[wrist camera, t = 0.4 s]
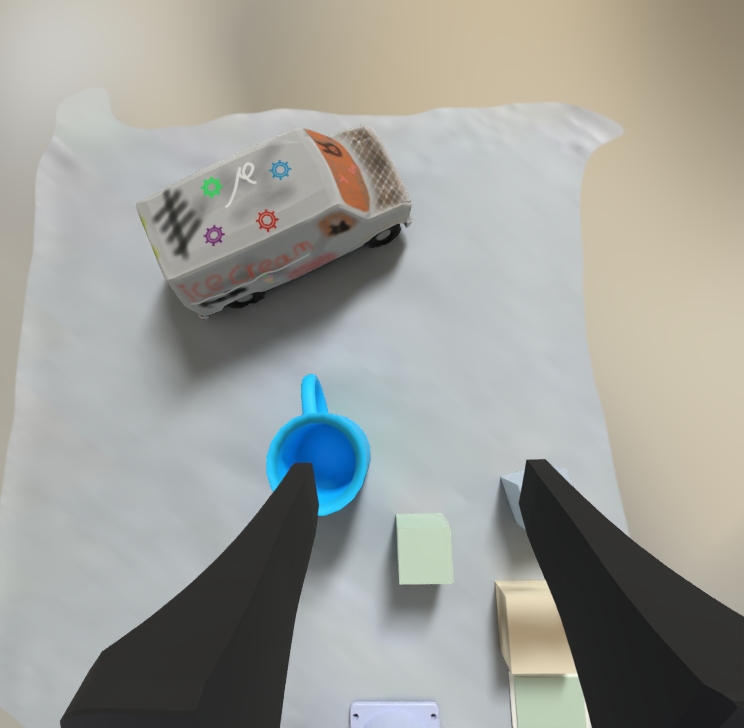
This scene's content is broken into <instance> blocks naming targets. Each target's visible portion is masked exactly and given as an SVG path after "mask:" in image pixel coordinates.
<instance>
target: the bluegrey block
mask: <svg viewBox="0 0 744 728" xmlns="http://www.w3.org/2000/svg"><path fill="white" fill-rule="evenodd" d="M553 467H554V466H553ZM554 468H555V469H556V470H557V471H558V472H559V473H560V474H561V475H562V476H563V477H564V478H565V479H566V480H567V481H568V482H569V483H570V484H571V485H572V486H573V484H572V481H571V478H570V476H569V473H568V470H566V469H562V468H558V467H554ZM524 471H525V470H522V471H518V472H515V473H512V474H508V475H505V476H502V477H501V480H502V483H503V486H504V489H505V492H506V495H507V498H508V501H509V503H510V506H511V509H512V512H513V515H514V518H515V521H516V523H517V524H518V525H520V526H521V527H522V528H524V529H525V526H524V522H523V519H522V515H521V511H520V507H519V498H520V493H521V487H522V482H523V476H524ZM573 487H574V486H573ZM525 530H526V529H525Z"/></svg>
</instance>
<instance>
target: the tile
mask: <svg viewBox="0 0 744 728" xmlns="http://www.w3.org/2000/svg"><path fill="white" fill-rule="evenodd" d="M508 673H509V687H510V700H511V714H512V727H513V728H590V720H589V714H588V710H587V707H586V703H585V699H584V695H583V692H582V688H581V685H580V681H579V678H578V675H577V673H570V674H512V673H511V671H510V670H508Z"/></svg>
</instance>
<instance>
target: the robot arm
mask: <svg viewBox="0 0 744 728" xmlns="http://www.w3.org/2000/svg"><path fill="white" fill-rule="evenodd" d="M519 507H520V511H521V515H522V519H523V522H524V526H525V529H526V533H527V536H528V538H529V541H530V543H531V546H532V548H533V551H534V553H535V556H536V558H537V561H538V563H539V566H540V568H541V570H542V573H543V575H544V578H545V580H546V583H547V585H548V587H549V590H550V592H551V595H552V597H553V600H554V602H555V605H556V607H557V610H558V613H559V616H560V618H561V621H562V625H563V628H564V631H565V634H566V638H567V641H568V644H569V647H570V651H571V654H572V657H573V661H574V664H575V668H576V671H577V675H578V678H579V681H580V685H581V688H582V692H583V695H584V699H585V703H586V707H587V710H588V714H589V718H590V722H591V725H592V728H744V617H743V616H742V615H740V614H738V613H737V612H735V611H733V610H732V609H730V608H728V607H727V606H725V605H724V604H722V603H721V602H719V601H717V600H716V599H714V598H712V597H711V596H709V595H708V594H706V593H705V592H703V591H702V590H700V589H699V588H697V587H696V586H695V585H693V584H692V583H690V582H689V581H687V580H685V579H684V578H683V577H681V576H680V575H678V574H677V573H675V572H674V571H673V570H671V569H670V568H668V567H667V566H666V565H664V564H663V563H662V562H660V561H659V560H658V559H656V558H655V557H654V556H652V555H651V554H650V553H648V552H647V551H646V550H644V549H643V548H641V547H640V546H639V545H638V544H637V543H635V542H634V541H633V540H632V539H631V538H629V537H628V536H627V535H626V534H625V533H623V532H622V531H621V530H620V529H619V528H617V527H616V526H615V525H614V524H613V523H612V522H610V521H609V520H608V519H607V518H606V517H605V516H604V515H603V514H601V513H600V512H599V511H598V510H597V509H596V508H595V507H594V506H593V505H592V504H591V503H590V502H589V501H587V500H586V499H585V498H584V497H583V496H582V495H581V494H580V493H579V492H578V491H577V490H576V489H575V488H574V487H573V486H572V485H571V484H570V483H569V482H568V481H567V480H566V479H565V478H564V477H563V476H562V475H561V474H560V473H559V472H558V471H557V470H556V469H555V468H554V467H553V466H552V465H551V464H550V463H549V462H548V461H547V460H546V459H538V460H526V466H525V471H524V476H523V482H522V487H521V493H520V498H519ZM318 510H319V501H318V495H317V489H316V483H315V477H314V471H313V465H312V463H294V464H293V465H292V466H291V467H290V469H289V470H288V472H287V473H286V475H285V476H284V478H283V479H282V481H281V482H280V483H279V485H278V486H277V488H276V489H275V490H274V492H273V493H272V495H271V496H270V497H269V499H268V500H267V501H266V502H265V504H264V505H263V506H262V508H261V509H260V510H259V512H258V513H257V514H256V515H255V517H254V518H253V519H252V520H251V521H250V523H249V524H248V525H247V526H246V527H245V528H244V530H243V531H242V532H241V533H240V534H239V535H238V537H237V538H236V539H235V540H234V541H233V542H232V543H231V544H230V545H229V546H228V548H227V549H226V550H225V551H224V552H223V553H222V554H221V555H220V556H219V557H218V558H217V559H216V560H215V561H214V562H213V563H212V564H211V565H210V566H209V567H208V568H207V569H206V570H204V571H203V572H202V573H201V574H200V575H199V576H198V577H197V578H196V579H195V580H194V581H193V582H192V583H190V584H189V585H188V586H187V587H186V588H185V589H184V590H183V591H181V592H180V593H179V594H178V595H176V596H175V597H174V598H173V599H172V600H170V601H169V602H168V603H167V604H166V605H164V606H163V607H162V608H161V609H159V610H158V611H157V612H156V613H155V614H153V615H152V616H151V617H149V618H148V619H147V620H146V621H144V622H143V623H142V624H140V625H139V626H137V627H136V628H135V629H133V630H132V631H130V632H129V633H128V634H126V635H125V636H123V637H122V638H121V639H119V640H118V641H117V642H115V643H114V644H112V645H111V646H109V647H108V648H107V649H105V650H104V651H102V652H101V654H100V655H99V657H98V659H97V660H96V661H95V663H94V664H93V666H92V667H91V669H90V670H89V672H88V674H87V676H86V677H85V679H84V681H83V682H82V684H81V686H80V688H79V689H78V691H77V693H76V694H75V696H74V698H73V700H72V701H71V703H70V705H69V707H68V708H67V710H66V712H65V713H64V715H63V717H62V719H61V720H60V725H61V728H280V722H281V714H282V707H283V699H284V691H285V684H286V677H287V670H288V663H289V656H290V649H291V643H292V636H293V630H294V624H295V617H296V612H297V608H298V603H299V599H300V595H301V591H302V587H303V583H304V578H305V574H306V570H307V566H308V562H309V558H310V554H311V550H312V546H313V542H314V538H315V533H316V526H317V518H318ZM354 714H358V717H355V716H354ZM432 714H435V715H436V716H435V717H432V716H431V715H432ZM350 728H440V725H439V709H438V705H437V703H435V702H353V703H352V704H351V708H350Z"/></svg>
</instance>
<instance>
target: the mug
mask: <svg viewBox="0 0 744 728" xmlns="http://www.w3.org/2000/svg"><path fill="white" fill-rule="evenodd" d="M301 400H302V411H303V415H301V416H298V417H296V418H293V419H292V420H290V421H289V422H288V423H287V424H285V425H284V426H283V427H282V428H280V430H279V431H278V433H277V434H276V436H275V437H274V439H273V440H272V441H271V444H270V448H269V451H268V454H267V472H266V473H267V476H268V480H269V483H270V486H271V489H272V490H273V492H274V490H275V489H276V488H277V486H278V485H279V483H280V482H281V481H282V479H283V478H284V476H285V475H286V473H287V472H288V470H289V469H290V467H291V466H292V465H293V464H294V463H312V465H313V471H314V477H315V483H316V489H317V495H318V501H319V510H318V516H325V515H328V514H331V513H333V512H336V511H338V510H341V509H342V508H343V507H344V506H346V505H347V504H348V503H349V502H351V501H352V500H353V499H354V497H355V496H356V494H357V493H358V491H359V489H360V488H361V486H362V484H363V482H364V479H365V476H366V474H367V471H368V467H369V463H370V460H371V459H370V445H369V443H368V440H367V437H366V435H365V433H364V432H363V431H362V429H361V428H360V427H359V426H358V425H357V424H356V423H354V422H353V421H352V420H350V419H349V418H346V417H343V416H339V415H335V414H329V413H328V409H327V405H326V401H325V397H324V393H323V390H322V387H321V384H320V381H319V379H318V378H317V376H316V375H314V374H309V375H307V376H305V377H304V378H303V380H302V384H301Z"/></svg>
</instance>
